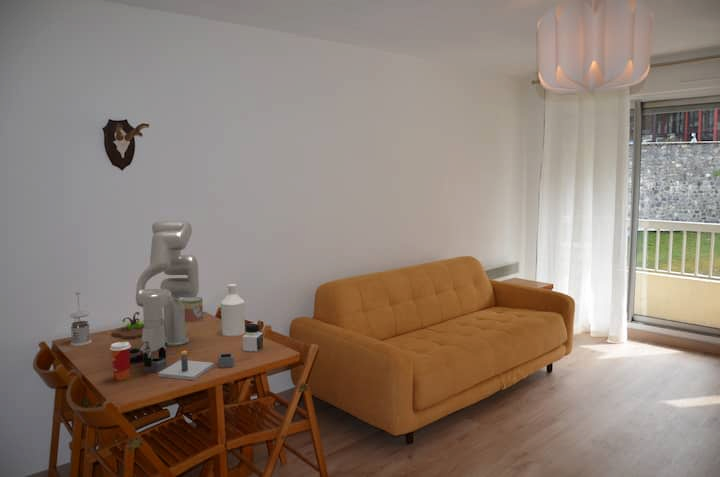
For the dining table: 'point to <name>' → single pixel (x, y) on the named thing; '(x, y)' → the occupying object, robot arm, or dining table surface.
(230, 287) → the bottle
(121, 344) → the paper cup
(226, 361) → the link
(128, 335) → the plant
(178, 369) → the keeper
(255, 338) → the medicine bottle
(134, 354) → the black ashtray
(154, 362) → the link
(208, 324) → the dining table surface
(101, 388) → the dining table surface
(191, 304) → the canned food
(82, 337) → the french press
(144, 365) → the robot arm
